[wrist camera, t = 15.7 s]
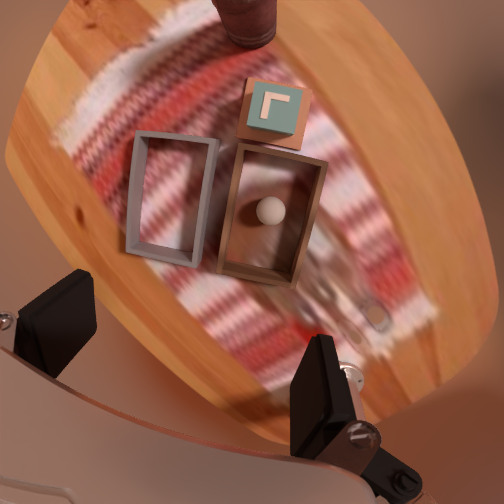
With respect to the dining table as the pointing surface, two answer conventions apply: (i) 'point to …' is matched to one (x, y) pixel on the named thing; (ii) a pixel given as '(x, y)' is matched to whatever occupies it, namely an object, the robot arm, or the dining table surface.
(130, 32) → the dining table surface
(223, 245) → the bin walnut
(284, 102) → the letter cube
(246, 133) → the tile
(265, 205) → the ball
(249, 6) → the can
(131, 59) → the dining table surface
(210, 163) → the bin grey
